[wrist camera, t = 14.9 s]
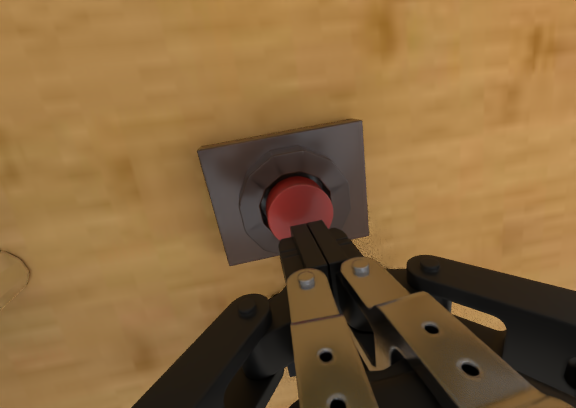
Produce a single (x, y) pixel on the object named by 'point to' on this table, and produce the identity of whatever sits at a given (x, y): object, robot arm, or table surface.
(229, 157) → the button block
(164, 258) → the table surface
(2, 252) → the milkshake
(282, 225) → the button
